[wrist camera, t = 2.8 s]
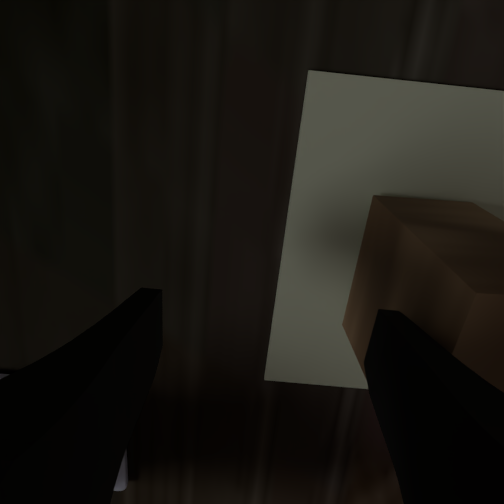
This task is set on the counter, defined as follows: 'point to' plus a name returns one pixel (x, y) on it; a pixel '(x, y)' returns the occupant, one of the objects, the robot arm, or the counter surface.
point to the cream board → (368, 198)
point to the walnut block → (433, 278)
